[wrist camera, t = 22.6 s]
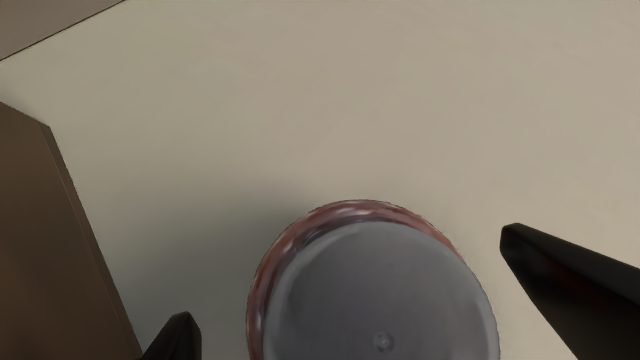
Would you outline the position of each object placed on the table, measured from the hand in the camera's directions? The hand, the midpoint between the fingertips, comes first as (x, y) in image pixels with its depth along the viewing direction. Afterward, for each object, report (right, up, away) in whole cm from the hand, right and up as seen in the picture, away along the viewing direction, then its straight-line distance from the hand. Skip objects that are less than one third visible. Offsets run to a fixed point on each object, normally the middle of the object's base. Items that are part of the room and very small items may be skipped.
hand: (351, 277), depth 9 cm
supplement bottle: (0, -3, +7) cm, 8 cm away
